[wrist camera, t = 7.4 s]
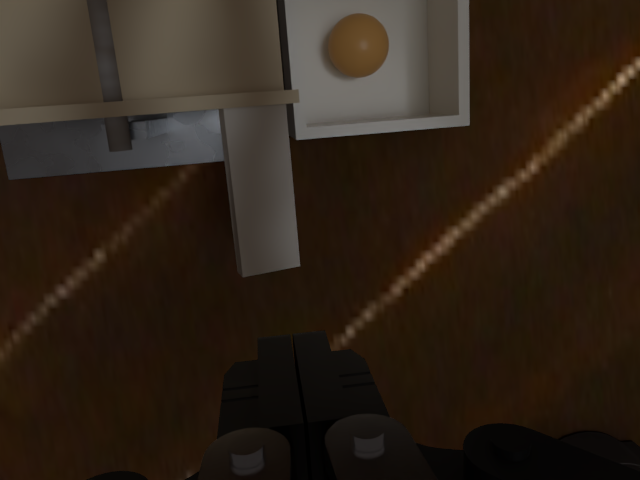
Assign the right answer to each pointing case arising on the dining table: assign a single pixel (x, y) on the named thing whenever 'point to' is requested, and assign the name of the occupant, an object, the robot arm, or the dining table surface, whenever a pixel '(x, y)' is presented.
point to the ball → (358, 45)
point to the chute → (166, 91)
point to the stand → (93, 151)
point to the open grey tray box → (389, 80)
